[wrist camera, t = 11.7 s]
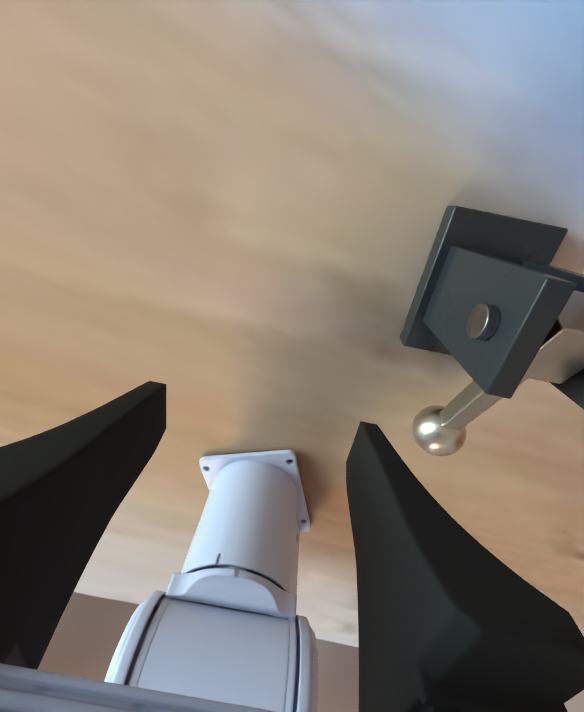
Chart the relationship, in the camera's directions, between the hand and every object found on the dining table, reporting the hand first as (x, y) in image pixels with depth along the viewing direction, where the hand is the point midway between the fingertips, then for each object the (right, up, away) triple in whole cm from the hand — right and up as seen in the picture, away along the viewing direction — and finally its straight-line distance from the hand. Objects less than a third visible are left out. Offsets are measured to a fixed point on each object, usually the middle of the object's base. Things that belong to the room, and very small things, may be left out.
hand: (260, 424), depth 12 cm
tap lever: (+11, +2, +5) cm, 12 cm away
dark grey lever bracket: (+12, +7, +7) cm, 16 cm away
